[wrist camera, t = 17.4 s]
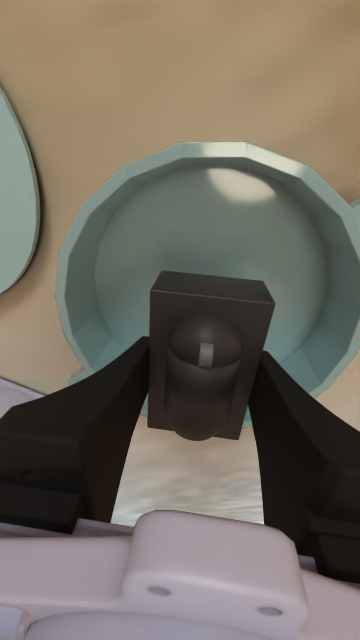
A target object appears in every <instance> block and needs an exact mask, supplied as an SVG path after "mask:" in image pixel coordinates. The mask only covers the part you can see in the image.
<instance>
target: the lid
mask: <svg viewBox="0 0 360 640" xmlns="http://www.w3.org/2000/svg"><path fill="white" fill-rule="evenodd" d="M39 226H40V196H39V190H38V183H37V176H36V172H35V168H34V164H33V160H32V157H31V153H30V150H29V147H28V144H27V142H26V139H25V136H24V133H23V131H22V128H21V126H20V124H19V121H18V119H17V117H16V115H15V113H14V111H13V109H12V106H11V104H10V102H9V101H8V99H7V97H6V95H5V94H4V92H3V90H2V88H1V87H0V294H2V293H3V292H5V291H6V290H8V289H9V288H10V287H12V286H13V285H14V284H15V283H16V282H17V281H18V280H19V279H20V277H21V276H22V275H23V273H24V272H25V270H26V269H27V267H28V265H29V264H30V261H31V259H32V256H33V254H34V252H35V248H36V244H37V240H38V236H39Z"/></svg>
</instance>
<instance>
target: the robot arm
mask: <svg viewBox="0 0 360 640" xmlns="http://www.w3.org/2000/svg"><path fill="white" fill-rule="evenodd" d="M149 350H150V345H149V337H148V336H142V337H141V338H140V339H138V340H137V341H136V342H135V343H134V344H133V345H132V346H130V347H129V348H128V349H127V350H126V351H125V352H123V353H122V354H121V355H120V356H118V357H117V358H116V359H115V360H113V361H112V362H110V363H109V364H108V365H106V366H105V367H103V368H102V369H100V370H99V371H97V372H95V373H94V374H92V375H90V376H89V377H87V378H85V379H83V380H81V381H79V382H77V383H75V384H73V385H71V386H69V387H66V388H64V389H62V390H59V391H57V392H54V393H52V394H49V395H46V396H45V395H42V394H39V393H37V392H34V391H32V390H29V389H27V388H24V387H22V386H19V385H16V384H14V383H11V382H9V381H6V380H4V379H1V378H0V640H360V432H359V431H358V430H356V429H355V428H353V427H352V426H350V425H349V424H347V423H346V422H344V421H343V420H341V419H340V418H339V417H337V416H336V415H334V414H333V413H332V412H330V411H329V410H328V409H326V408H325V407H324V406H323V405H321V404H320V403H319V402H318V401H316V400H315V399H314V398H313V397H312V396H311V395H309V394H308V393H307V392H306V391H305V390H304V389H303V388H302V387H301V386H300V385H299V384H298V383H297V382H296V381H295V380H294V379H293V378H292V377H291V376H290V375H289V374H288V373H287V372H286V371H285V370H284V369H283V368H282V367H281V366H280V364H279V363H278V362H277V361H276V360H275V359H274V358H273V357H272V356H271V354H270V353H269V352H268V351H264V350H263V352H262V356H261V359H260V361H259V365H258V368H257V372H256V376H255V379H254V383H253V387H252V390H251V394H250V398H249V401H248V407H249V412H250V417H251V422H252V426H253V431H254V435H255V440H256V445H257V451H258V459H259V468H260V477H261V489H262V500H263V513H264V525H263V524H258V523H252V522H246V521H239V520H233V519H227V518H221V517H215V516H208V515H202V514H196V513H190V512H184V511H177V510H154V511H151V512H149V513H146V514H143V515H142V516H140V517H139V519H138V520H137V522H136V524H135V526H134V527H130V526H124V525H118V524H112V523H110V522H111V518H112V514H113V509H114V505H115V501H116V497H117V493H118V488H119V484H120V480H121V476H122V472H123V468H124V464H125V461H126V457H127V453H128V449H129V445H130V442H131V438H132V434H133V431H134V428H135V426H136V423H137V420H138V418H139V415H140V412H141V410H142V407H143V405H144V402H145V399H146V397H147V394H148V391H149Z"/></svg>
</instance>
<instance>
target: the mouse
mask: <svg viewBox="0 0 360 640" xmlns="http://www.w3.org/2000/svg"><path fill="white" fill-rule="evenodd" d="M275 305H276V304H275V301H274V300H273V298H272V296H271V294H270V292H269V290H268V289H267V287H266V285H265V283H264V281H260V280H250V279H241V278H231V277H221V276H212V275H202V274H192V273H183V272H173V271H164V270H162V271H161V272H160V274H159V276H158V277H157V279H156V281H155V283H154V284H153V286H152V288H151V289H150V315H149V345H150V350H149V391H148V421H147V426H148V427H149V428H156V429H163V430H170V431H175V432H176V433H177V434H178V435H180V436H181V437H183V438H185V439H188V440H192V441H202V440H206V439H209V438H211V437H219V438H226V439H233V440H239V436H240V433H241V429H242V425H243V422H244V418H245V414H246V411H247V407H248V401H249V398H250V394H251V390H252V387H253V383H254V379H255V376H256V372H257V368H258V365H259V361H260V359H261V356H262V352H263V348H264V345H265V341H266V338H267V334H268V330H269V327H270V323H271V319H272V316H273V312H274V308H275Z"/></svg>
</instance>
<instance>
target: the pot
mask: <svg viewBox="0 0 360 640" xmlns="http://www.w3.org/2000/svg"><path fill="white" fill-rule="evenodd" d="M162 270H164V271H173V272H183V273H192V274H202V275H212V276H221V277H231V278H241V279H250V280H260V281H264V283H265V285H266V287H267V289H268V290H269V292H270V294H271V296H272V298H273V300H274V301H275V304H276V305H275V308H274V312H273V316H272V319H271V323H270V327H269V330H268V334H267V338H266V341H265V345H264V348H263V350H264V351H268V352H269V353H270V354H271V356H272V357H273V358H274V359H275V360H276V361H277V362H278V363H279V364H280V366H281V367H282V368H283V369H284V370H285V371H286V372H287V373H288V374H289V375H290V376H291V377H292V378H293V379H294V380H295V381H296V382H297V383H298V384H299V385H300V386H301V387H302V388H303V389H304V390H305V391H306V392H307V393H308V394H309V395H311V396H312V397H313V398H315V397H317V396H318V395H320V394H321V393H322V392H324V391H325V390H327V389H328V388H329V387H330V386H331V385H332V384H333V383H334V381H335V380H336V379H337V378H338V377H339V375H340V374H341V373H342V372H343V371H344V369H345V368H346V367H347V366H348V365H349V363H350V362H351V361H352V360H353V358H354V357H355V356H356V354H357V352H358V349H359V347H360V197H359V198H357V199H356V200H354V201H353V202H351V203H349V204H348V203H347V202H346V201H345V200H344V199H343V198H342V197H341V196H340V195H339V194H338V193H337V192H336V191H335V190H334V189H333V188H331V187H330V186H329V185H328V184H327V183H326V182H325V181H324V180H323V179H322V178H321V177H320V176H319V175H318V174H317V173H316V172H315V171H314V170H313V169H312V168H311V167H310V166H308V165H307V164H304V163H301V162H299V161H296V160H294V159H291V158H288V157H286V156H283V155H281V154H278V153H276V152H273V151H270V150H268V149H265V148H263V147H260V146H258V145H255V144H252V143H250V142H246V141H242V142H182V143H178V144H176V145H173V146H171V147H168V148H166V149H163V150H161V151H158V152H156V153H153V154H151V155H149V156H146V157H144V158H141V159H139V160H136V161H134V162H131V163H129V164H126V165H124V166H123V167H121V168H120V169H119V170H118V171H117V172H116V173H115V174H114V175H113V176H111V177H110V178H109V179H108V180H107V181H106V182H105V183H104V184H103V185H102V186H101V187H100V188H99V189H98V190H97V191H96V192H95V193H93V194H92V195H91V196H90V197H89V198H88V199H87V200H86V201H85V202H84V203H83V204H82V206H81V207H80V209H79V211H78V213H77V215H76V217H75V219H74V221H73V223H72V225H71V227H70V229H69V232H68V234H67V236H66V238H65V240H64V242H63V244H62V246H61V248H60V252H59V259H58V269H57V280H56V291H55V298H56V302H57V307H58V311H59V315H60V319H61V323H62V327H63V332H64V336H65V338H66V340H67V341H68V343H69V345H70V347H71V348H72V350H73V352H74V353H75V355H76V357H77V358H78V360H79V362H80V363H81V365H82V367H83V368H81V369H79V370H78V371H76V372H74V373H73V374H72V375H71V377H70V378H69V379H68V381H67V382H68V383H69V384H70V385H73V384H75V383H77V382H79V381H81V380H83V379H85V378H87V377H89V376H90V375H92V374H94V373H95V372H97V371H99V370H100V369H102V368H103V367H105V366H106V365H108V364H109V363H110V362H112V361H113V360H115V359H116V358H117V357H118V356H120V355H121V354H122V353H123V352H125V351H126V350H127V349H128V348H129V347H130V346H132V345H133V344H134V343H135V342H136V341H137V340H138V339H140V338H141V337H142V336H148V337H149V315H150V289H151V288H152V286H153V284H154V283H155V281H156V279H157V277H158V276H159V274H160V272H161V271H162ZM140 414H141V415H143V416H145V417H148V394H147V397H146V399H145V402H144V405H143V407H142V410H141V412H140ZM245 427H253V426H252V422H251V417H250V412H249V407H247V411H246V414H245V418H244V422H243V425H242V428H245Z"/></svg>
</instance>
